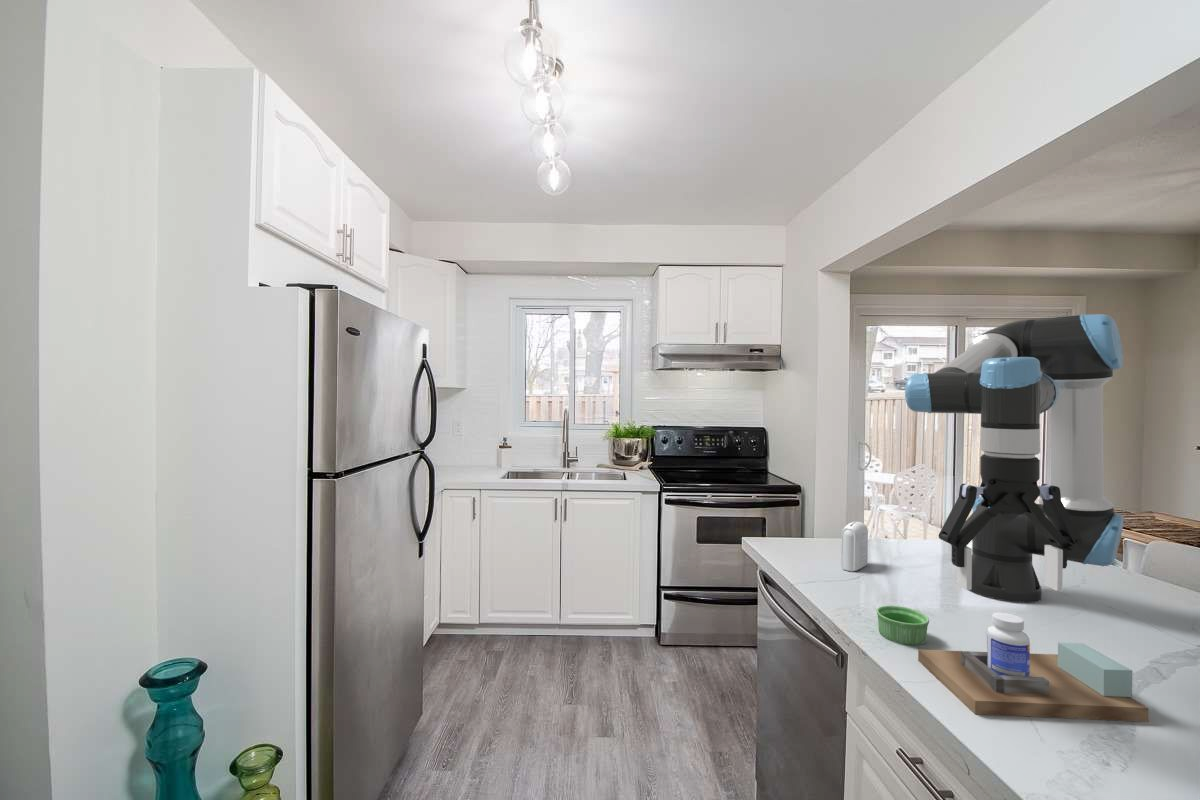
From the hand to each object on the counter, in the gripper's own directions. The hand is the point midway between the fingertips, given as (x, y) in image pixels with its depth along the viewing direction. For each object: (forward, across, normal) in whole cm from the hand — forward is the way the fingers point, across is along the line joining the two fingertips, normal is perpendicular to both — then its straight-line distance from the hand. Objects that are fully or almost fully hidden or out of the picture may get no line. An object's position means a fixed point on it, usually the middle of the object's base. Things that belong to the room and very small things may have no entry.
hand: (1008, 587), depth 86 cm
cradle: (+16, -2, 0) cm, 17 cm away
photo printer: (+18, 0, -62) cm, 64 cm away
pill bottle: (+15, 0, 0) cm, 15 cm away
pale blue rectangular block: (+14, -13, 0) cm, 19 cm away
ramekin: (+17, +8, -18) cm, 26 cm away
